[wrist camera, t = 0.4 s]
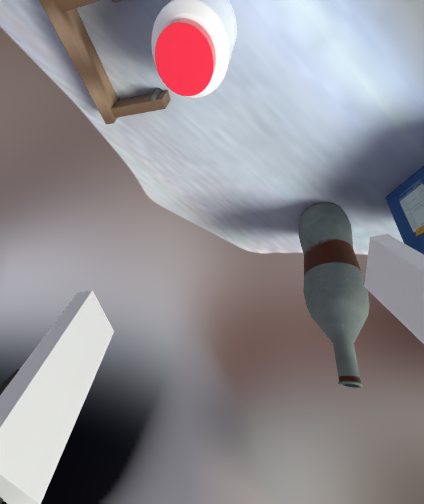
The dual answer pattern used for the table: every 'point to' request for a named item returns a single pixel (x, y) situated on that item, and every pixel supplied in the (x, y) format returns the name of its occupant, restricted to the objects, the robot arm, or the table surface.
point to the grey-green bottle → (334, 284)
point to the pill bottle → (194, 45)
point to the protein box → (410, 210)
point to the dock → (96, 64)
